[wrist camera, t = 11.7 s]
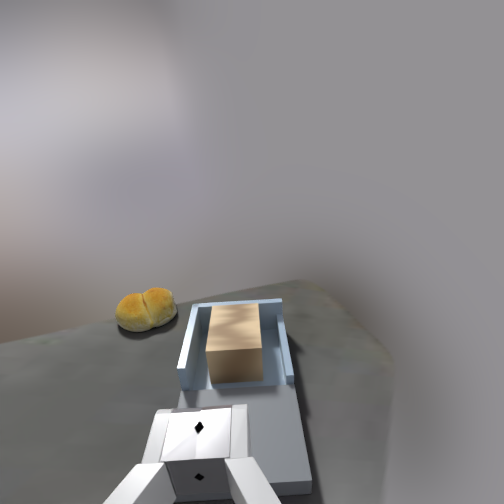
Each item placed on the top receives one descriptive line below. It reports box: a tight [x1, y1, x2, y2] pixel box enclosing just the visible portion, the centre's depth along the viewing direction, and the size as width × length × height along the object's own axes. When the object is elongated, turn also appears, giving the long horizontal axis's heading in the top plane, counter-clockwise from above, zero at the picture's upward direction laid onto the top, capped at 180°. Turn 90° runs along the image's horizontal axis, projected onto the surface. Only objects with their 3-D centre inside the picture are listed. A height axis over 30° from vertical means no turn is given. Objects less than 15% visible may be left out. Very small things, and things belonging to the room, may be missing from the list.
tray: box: [177, 299, 294, 391], centre depth 36 cm, size 12×11×5 cm
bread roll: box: [115, 288, 177, 332], centre depth 46 cm, size 8×9×4 cm
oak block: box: [206, 303, 263, 384], centre depth 36 cm, size 6×5×8 cm
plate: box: [174, 384, 312, 502], centre depth 28 cm, size 12×9×2 cm
